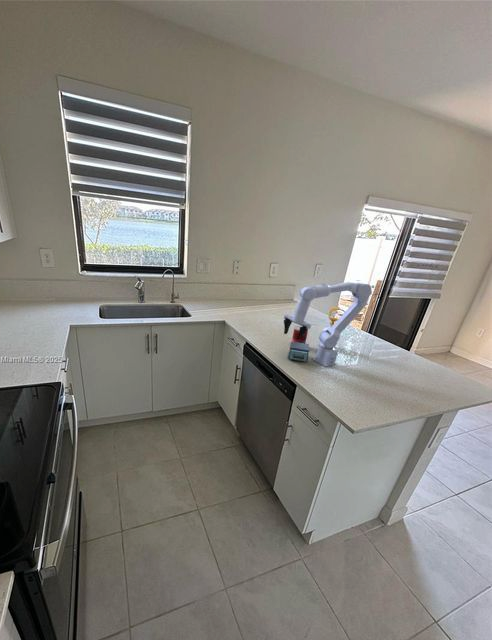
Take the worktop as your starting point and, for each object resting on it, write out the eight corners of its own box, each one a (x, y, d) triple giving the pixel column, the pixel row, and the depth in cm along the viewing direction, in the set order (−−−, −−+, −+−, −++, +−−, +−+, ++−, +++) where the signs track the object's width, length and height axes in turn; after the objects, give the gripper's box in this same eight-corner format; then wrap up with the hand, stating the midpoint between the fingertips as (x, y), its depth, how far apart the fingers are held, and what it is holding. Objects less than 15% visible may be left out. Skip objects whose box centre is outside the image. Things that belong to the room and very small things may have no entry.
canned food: (301, 349, 168) (305, 331, 163) (289, 345, 172) (292, 328, 167) (306, 345, 173) (310, 328, 169) (294, 342, 177) (297, 325, 173)
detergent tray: (305, 364, 146) (307, 356, 144) (289, 361, 148) (290, 353, 146) (305, 355, 158) (307, 347, 156) (290, 352, 159) (291, 344, 157)
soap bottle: (335, 350, 169) (346, 310, 159) (319, 348, 171) (329, 308, 160) (333, 345, 177) (343, 306, 167) (318, 343, 179) (327, 304, 168)
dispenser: (306, 361, 152) (309, 350, 149) (288, 358, 154) (290, 347, 151) (306, 355, 160) (309, 344, 158) (289, 352, 162) (291, 341, 160)
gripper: (284, 306, 144) (276, 331, 149) (310, 317, 136) (300, 343, 141) (291, 306, 149) (282, 330, 154) (316, 316, 141) (306, 341, 147)
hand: (291, 336), depth 148 cm, fingers open, 7 cm apart
